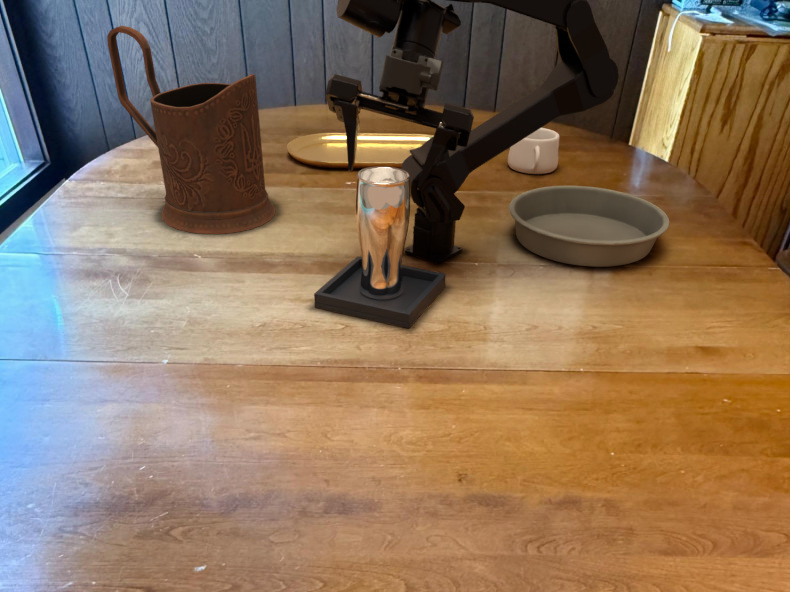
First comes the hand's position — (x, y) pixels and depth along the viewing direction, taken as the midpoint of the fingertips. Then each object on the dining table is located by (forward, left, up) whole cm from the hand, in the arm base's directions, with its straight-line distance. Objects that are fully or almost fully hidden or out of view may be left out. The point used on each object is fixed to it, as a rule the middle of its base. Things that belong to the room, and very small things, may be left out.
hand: (384, 180), depth 100 cm
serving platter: (-44, -37, -14) cm, 59 cm away
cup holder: (-2, -40, -14) cm, 42 cm away
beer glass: (+4, +3, -13) cm, 14 cm away
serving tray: (+4, +3, -14) cm, 15 cm away
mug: (-58, -10, -14) cm, 60 cm away
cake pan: (-33, +14, -14) cm, 39 cm away
